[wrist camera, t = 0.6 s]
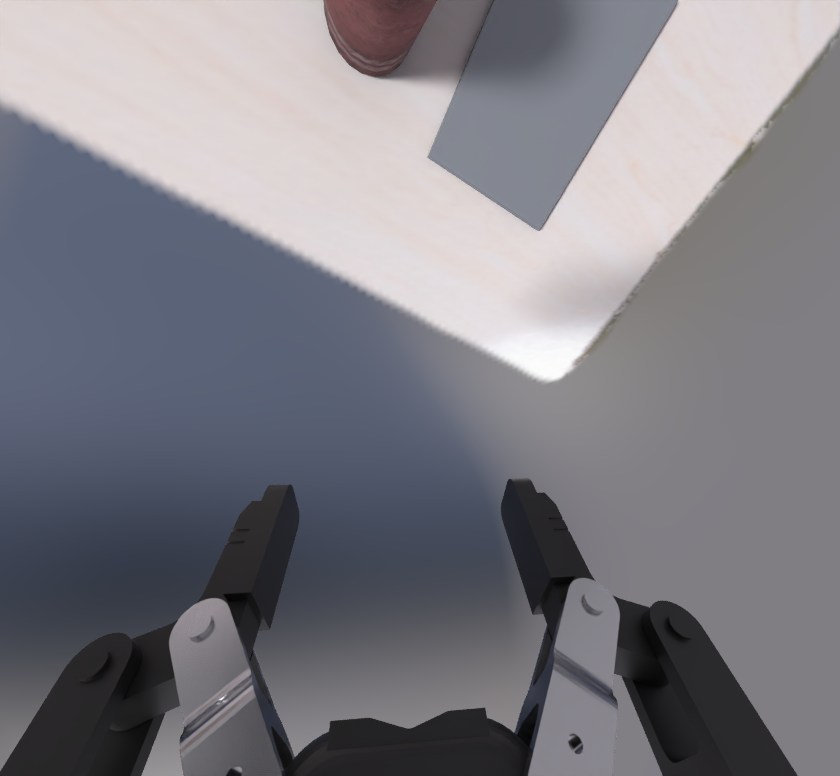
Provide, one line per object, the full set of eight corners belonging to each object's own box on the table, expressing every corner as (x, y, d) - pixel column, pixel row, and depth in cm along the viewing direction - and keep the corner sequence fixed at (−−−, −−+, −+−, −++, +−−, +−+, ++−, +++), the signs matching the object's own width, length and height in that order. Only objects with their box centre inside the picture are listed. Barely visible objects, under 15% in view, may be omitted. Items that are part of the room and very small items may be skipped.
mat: (427, 157, 27) (428, 157, 27) (558, -156, 20) (563, -163, 20) (536, 230, 33) (539, 230, 32) (672, 3, 25) (678, 0, 25)
